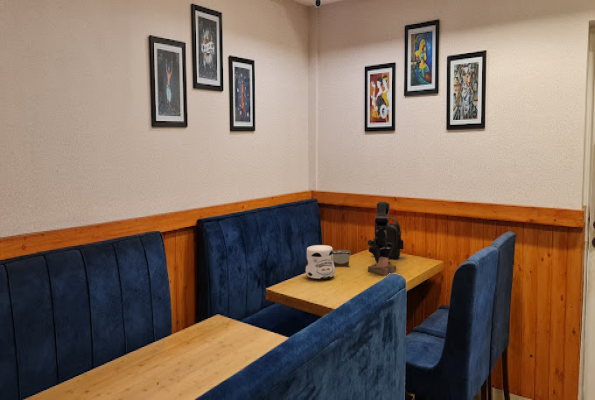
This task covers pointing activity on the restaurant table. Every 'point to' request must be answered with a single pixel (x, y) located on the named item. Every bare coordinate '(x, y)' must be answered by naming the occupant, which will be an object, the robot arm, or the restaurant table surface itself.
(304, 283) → the restaurant table surface
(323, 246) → the milk container
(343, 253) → the food container
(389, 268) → the walnut block
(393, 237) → the shoulder bag
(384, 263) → the terracotta cube
